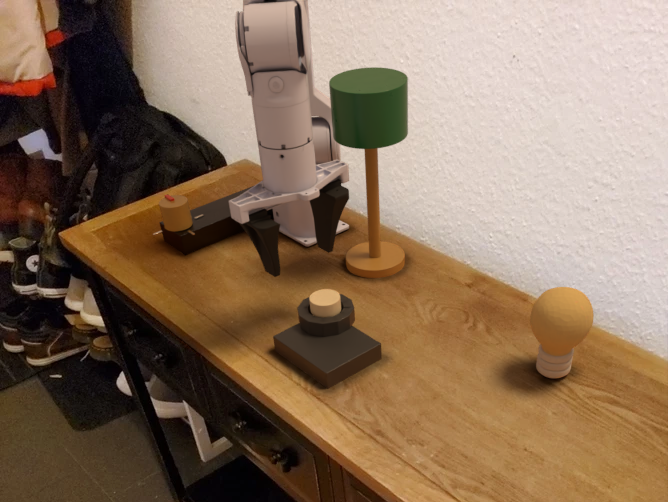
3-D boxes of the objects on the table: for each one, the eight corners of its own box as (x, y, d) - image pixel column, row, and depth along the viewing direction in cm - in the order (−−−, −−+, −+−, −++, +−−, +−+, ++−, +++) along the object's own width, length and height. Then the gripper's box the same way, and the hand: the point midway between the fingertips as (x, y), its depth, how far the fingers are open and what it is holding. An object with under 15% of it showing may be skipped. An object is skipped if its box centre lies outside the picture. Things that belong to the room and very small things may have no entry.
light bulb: (582, 391, 79) (599, 311, 72) (521, 386, 80) (532, 306, 73) (582, 356, 84) (597, 277, 77) (524, 352, 85) (535, 273, 78)
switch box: (268, 347, 88) (264, 318, 85) (332, 315, 92) (329, 286, 89) (328, 389, 82) (324, 359, 79) (393, 352, 86) (392, 323, 83)
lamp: (329, 263, 101) (313, 81, 85) (378, 240, 105) (372, 62, 89) (372, 288, 96) (364, 99, 80) (422, 263, 100) (424, 78, 84)
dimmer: (173, 265, 103) (168, 244, 101) (144, 245, 108) (138, 224, 106) (285, 218, 112) (283, 197, 109) (254, 201, 116) (251, 181, 114)
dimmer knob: (197, 225, 105) (192, 199, 102) (172, 234, 103) (166, 208, 100) (184, 215, 107) (178, 190, 104) (159, 224, 105) (153, 198, 103)
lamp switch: (304, 310, 87) (302, 297, 85) (328, 298, 88) (327, 285, 87) (323, 322, 85) (322, 309, 83) (347, 310, 86) (346, 297, 85)
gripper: (248, 171, 70) (268, 297, 80) (364, 129, 76) (369, 250, 86) (209, 151, 74) (232, 273, 84) (322, 112, 80) (332, 230, 90)
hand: (299, 260), depth 85 cm, fingers open, 7 cm apart
